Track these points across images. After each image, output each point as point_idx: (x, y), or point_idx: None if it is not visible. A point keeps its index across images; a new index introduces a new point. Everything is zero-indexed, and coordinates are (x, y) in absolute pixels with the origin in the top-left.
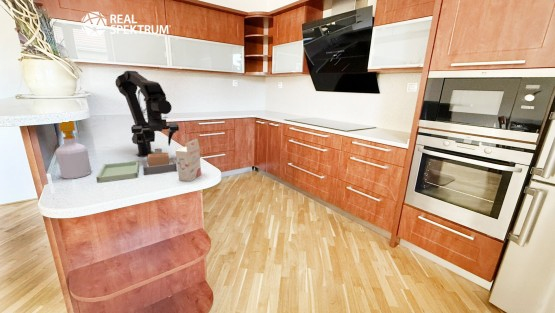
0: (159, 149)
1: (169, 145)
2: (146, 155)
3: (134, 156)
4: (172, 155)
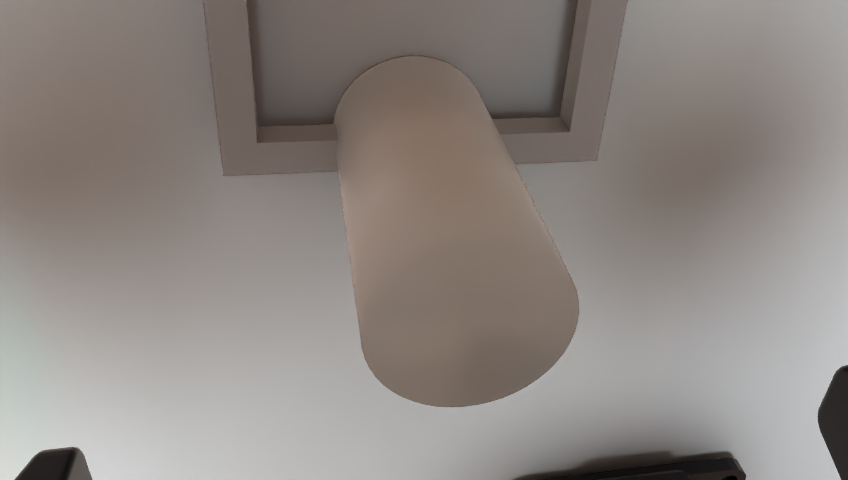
0: (432, 305)
1: (38, 456)
2: (612, 474)
3: (773, 476)
4: (139, 426)
